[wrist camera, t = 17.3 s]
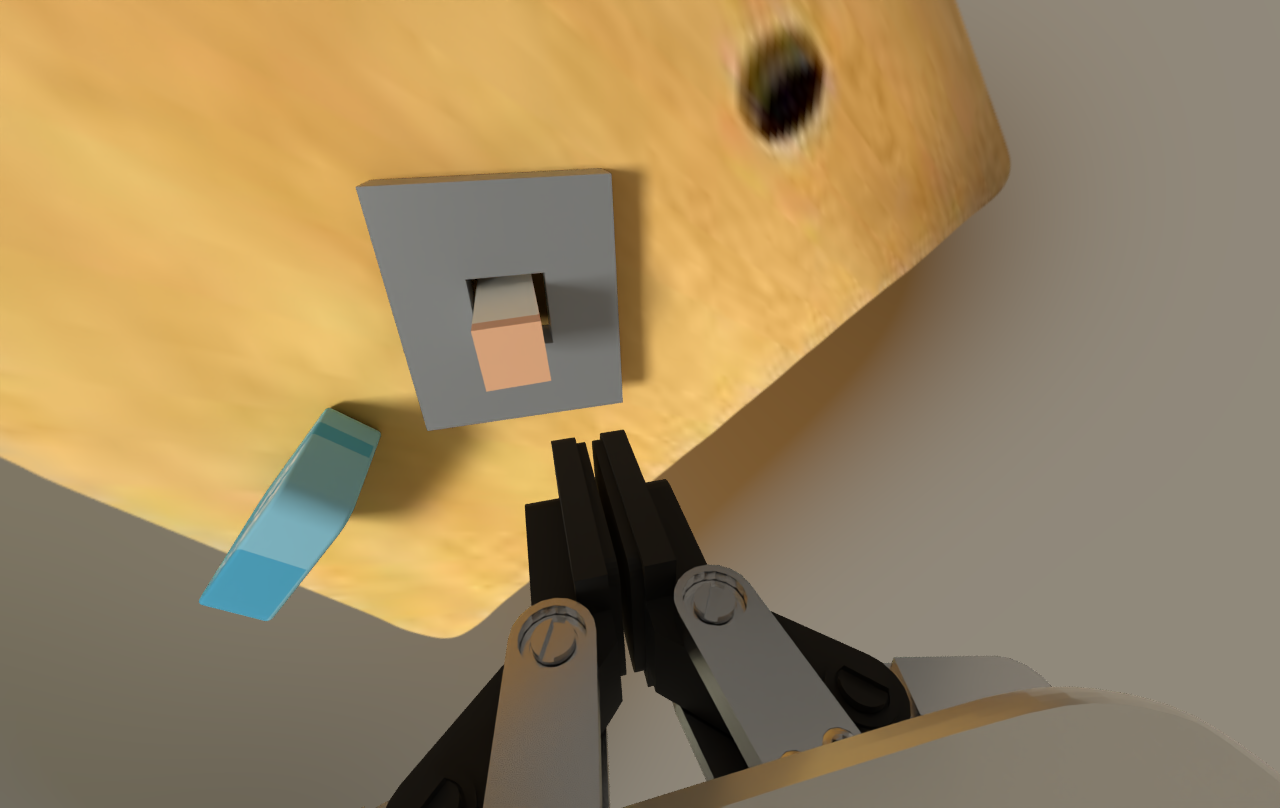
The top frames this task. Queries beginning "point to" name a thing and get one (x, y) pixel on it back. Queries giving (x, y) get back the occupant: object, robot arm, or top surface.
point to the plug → (509, 333)
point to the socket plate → (492, 247)
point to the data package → (295, 519)
